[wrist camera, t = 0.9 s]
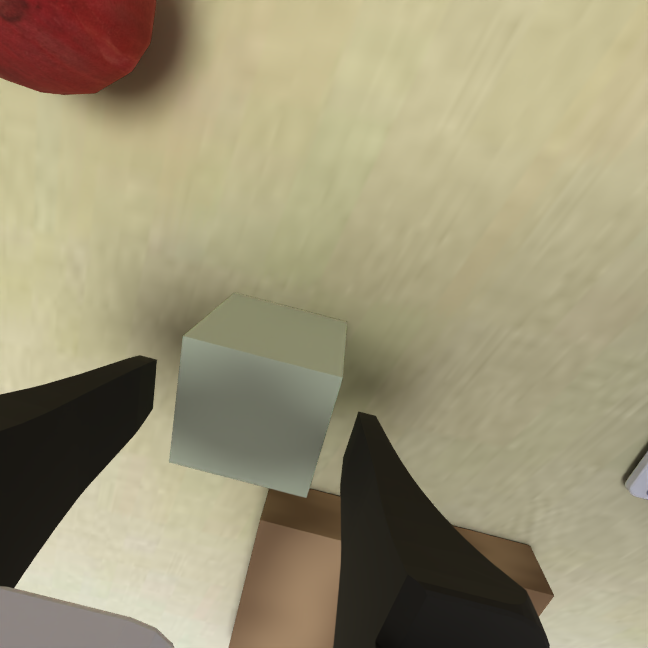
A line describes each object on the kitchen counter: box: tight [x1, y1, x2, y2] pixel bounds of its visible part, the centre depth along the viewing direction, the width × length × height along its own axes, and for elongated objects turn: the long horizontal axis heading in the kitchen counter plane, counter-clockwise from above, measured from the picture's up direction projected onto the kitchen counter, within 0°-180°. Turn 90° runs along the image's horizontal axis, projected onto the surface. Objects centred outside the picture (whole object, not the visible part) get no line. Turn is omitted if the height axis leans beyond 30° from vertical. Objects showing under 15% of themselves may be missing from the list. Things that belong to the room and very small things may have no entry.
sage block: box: [169, 293, 347, 498], centre depth 14 cm, size 5×5×5 cm
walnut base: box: [229, 488, 554, 648], centre depth 20 cm, size 14×14×2 cm
